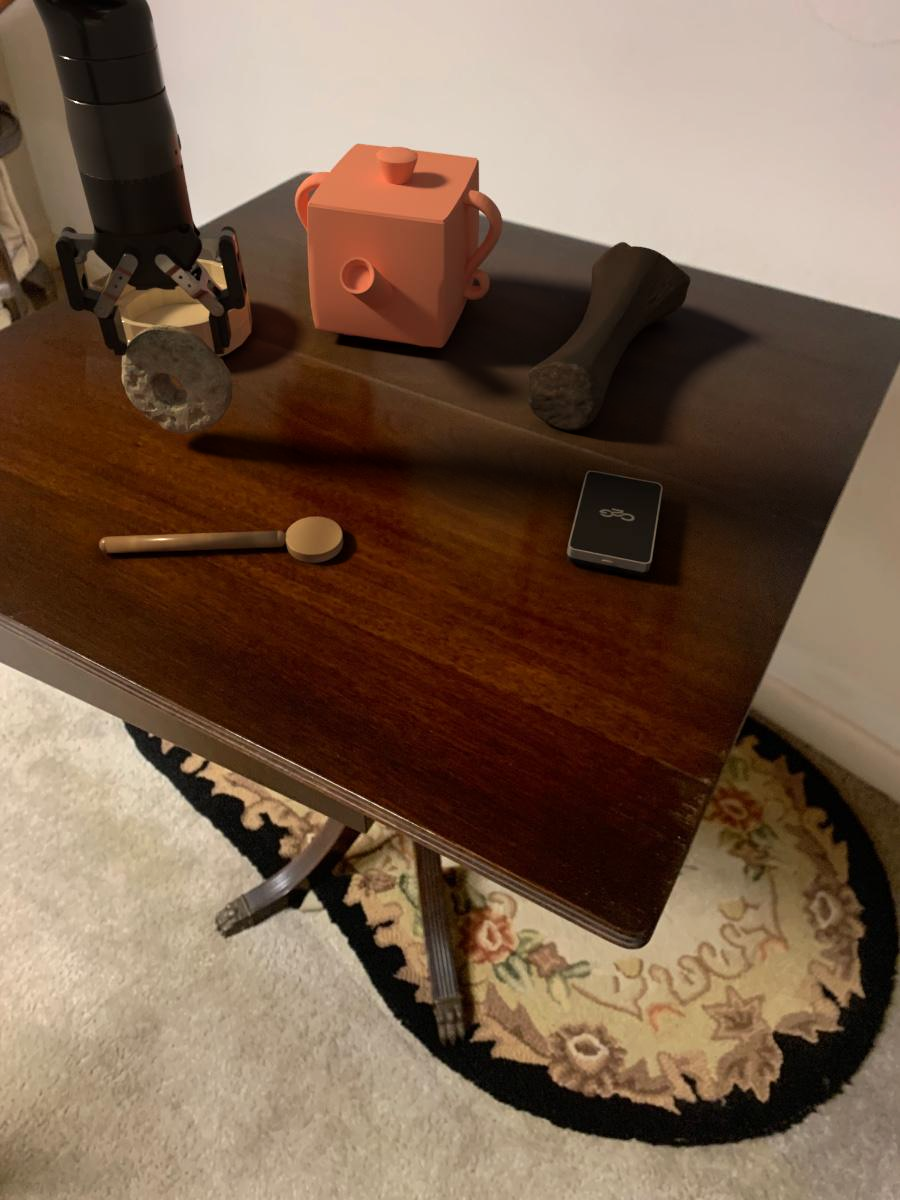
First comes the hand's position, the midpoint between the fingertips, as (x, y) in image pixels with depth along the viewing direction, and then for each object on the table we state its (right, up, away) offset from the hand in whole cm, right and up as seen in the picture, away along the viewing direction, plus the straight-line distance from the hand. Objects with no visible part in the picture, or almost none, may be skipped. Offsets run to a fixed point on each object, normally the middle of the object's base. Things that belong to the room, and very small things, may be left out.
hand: (171, 350), depth 77 cm
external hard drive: (+39, -16, 0) cm, 42 cm away
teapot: (+18, +9, +23) cm, 30 cm away
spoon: (+5, -17, -3) cm, 18 cm away
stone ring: (0, -6, +6) cm, 8 cm away
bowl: (-5, +8, +21) cm, 23 cm away
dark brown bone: (+42, +4, +19) cm, 46 cm away
